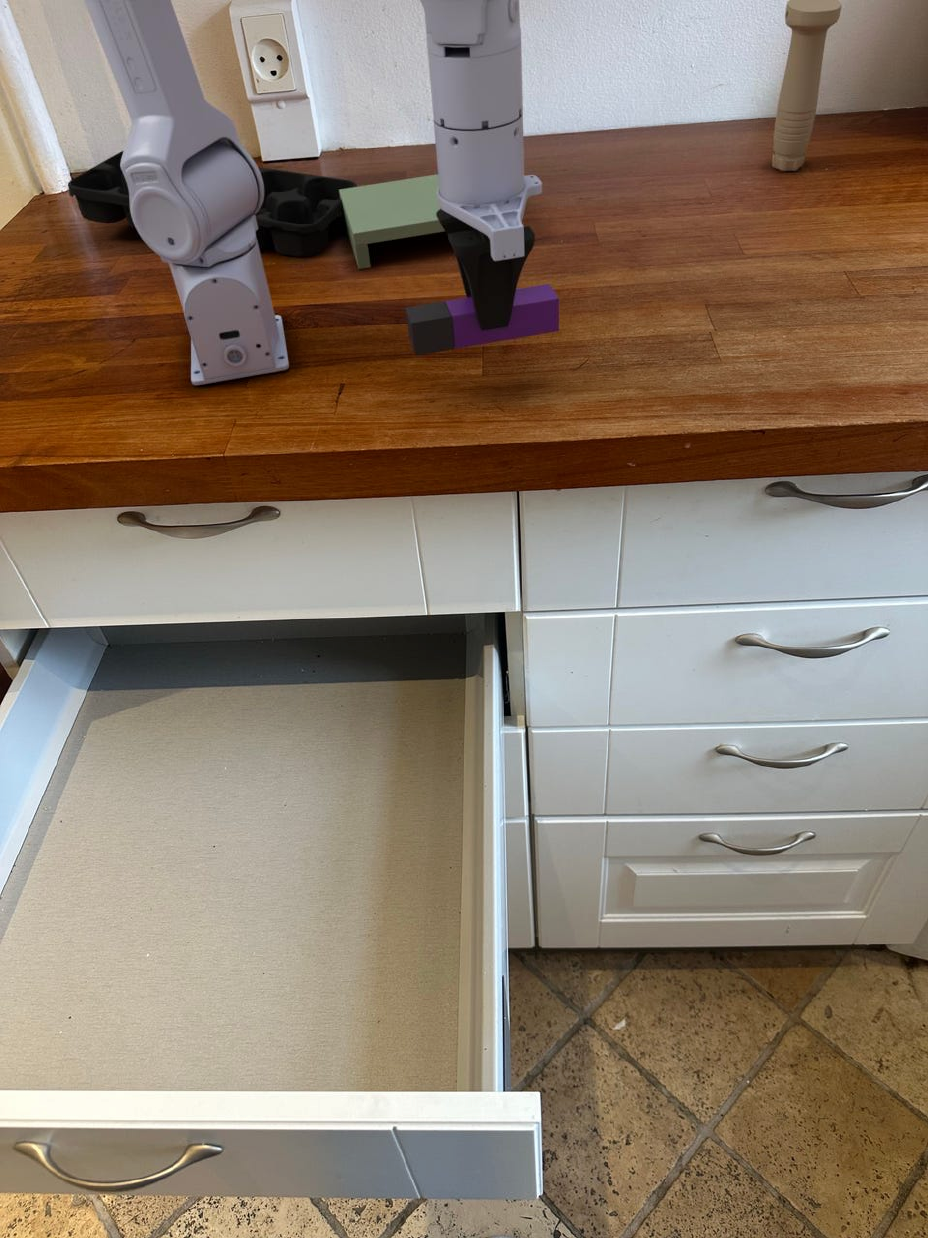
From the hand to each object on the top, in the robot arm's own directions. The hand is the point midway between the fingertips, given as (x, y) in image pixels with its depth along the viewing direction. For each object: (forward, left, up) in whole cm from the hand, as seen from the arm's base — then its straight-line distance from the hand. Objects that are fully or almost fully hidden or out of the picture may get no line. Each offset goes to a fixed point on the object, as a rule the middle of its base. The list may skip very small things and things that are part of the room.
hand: (489, 316), depth 68 cm
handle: (+33, -41, -6) cm, 53 cm away
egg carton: (+41, +20, -5) cm, 46 cm away
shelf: (+31, -1, -6) cm, 32 cm away
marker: (0, 0, -1) cm, 1 cm away
